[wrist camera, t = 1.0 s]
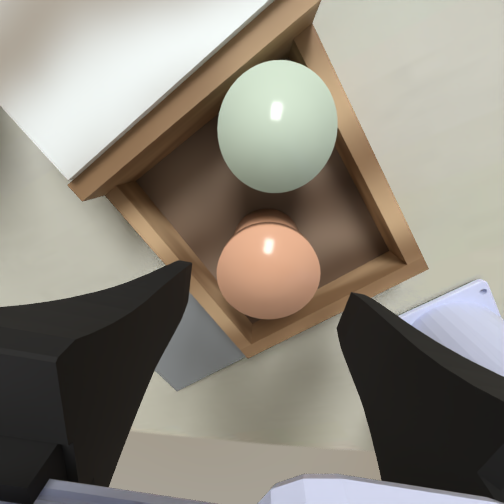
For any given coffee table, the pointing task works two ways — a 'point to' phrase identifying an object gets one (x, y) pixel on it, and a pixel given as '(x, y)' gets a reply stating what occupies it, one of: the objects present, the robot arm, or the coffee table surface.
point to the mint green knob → (277, 126)
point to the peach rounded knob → (268, 266)
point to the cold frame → (197, 139)
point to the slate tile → (196, 348)
